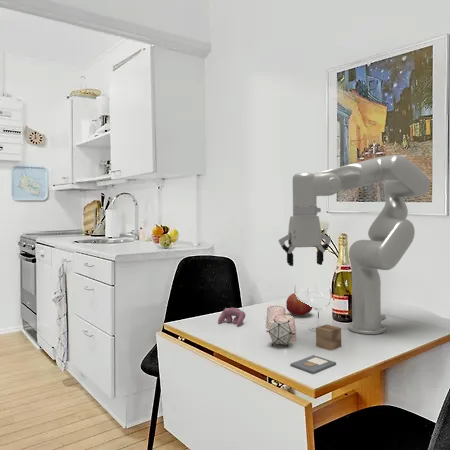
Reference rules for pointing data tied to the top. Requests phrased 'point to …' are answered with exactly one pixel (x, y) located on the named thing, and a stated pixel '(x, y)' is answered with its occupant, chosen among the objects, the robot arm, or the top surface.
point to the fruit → (297, 306)
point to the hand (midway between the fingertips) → (305, 264)
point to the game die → (280, 332)
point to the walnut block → (328, 337)
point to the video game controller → (231, 312)
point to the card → (313, 364)
